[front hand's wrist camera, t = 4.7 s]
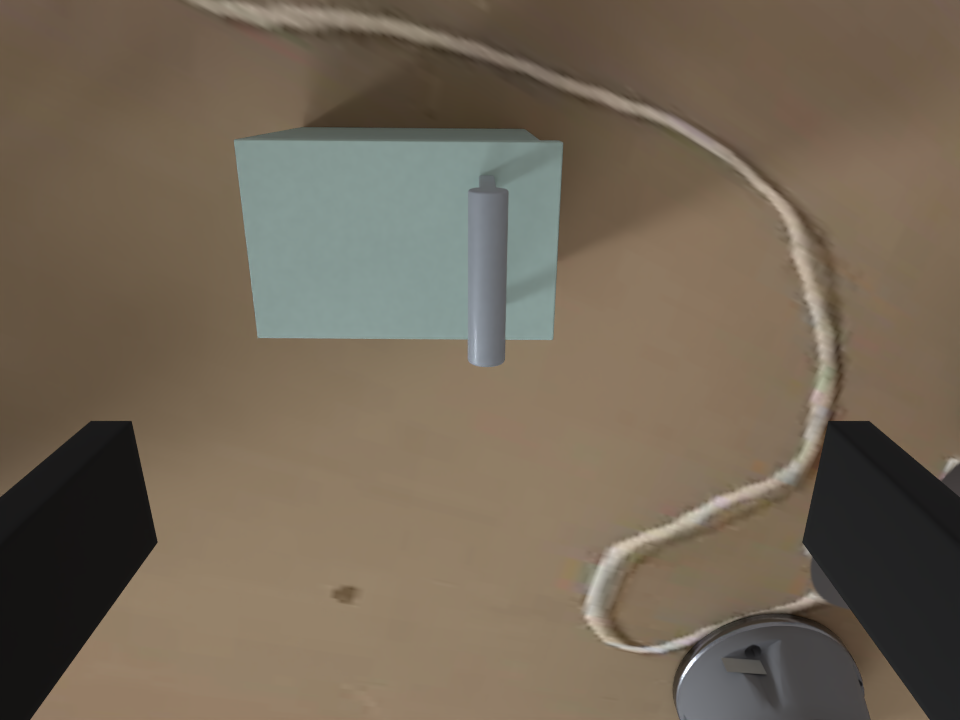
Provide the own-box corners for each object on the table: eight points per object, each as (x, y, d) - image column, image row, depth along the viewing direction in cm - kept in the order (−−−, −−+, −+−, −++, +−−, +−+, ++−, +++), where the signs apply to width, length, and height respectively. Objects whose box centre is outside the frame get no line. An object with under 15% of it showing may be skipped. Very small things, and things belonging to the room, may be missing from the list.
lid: (560, 140, 31) (586, 155, 24) (550, 332, 34) (570, 398, 27) (242, 137, 31) (166, 151, 23) (265, 329, 34) (205, 395, 27)
